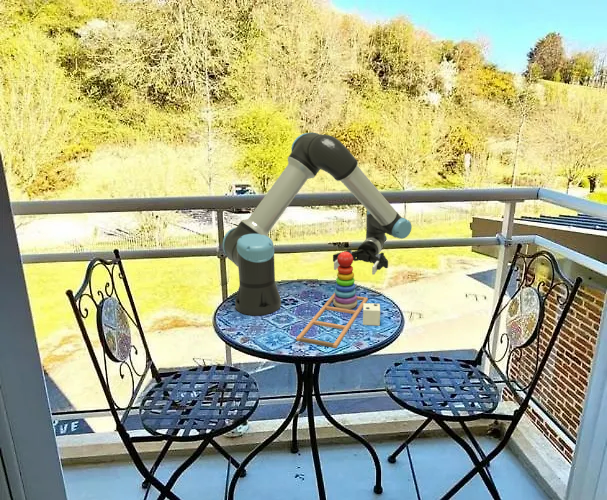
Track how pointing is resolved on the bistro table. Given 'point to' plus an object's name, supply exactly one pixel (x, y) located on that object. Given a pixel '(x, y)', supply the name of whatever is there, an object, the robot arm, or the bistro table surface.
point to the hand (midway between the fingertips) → (353, 268)
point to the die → (371, 314)
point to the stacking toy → (345, 283)
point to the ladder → (345, 328)
